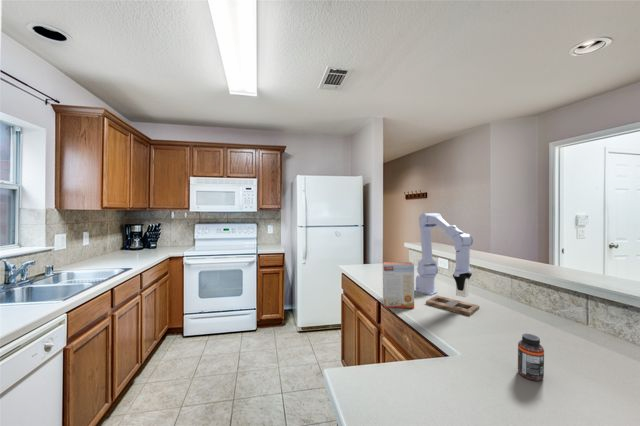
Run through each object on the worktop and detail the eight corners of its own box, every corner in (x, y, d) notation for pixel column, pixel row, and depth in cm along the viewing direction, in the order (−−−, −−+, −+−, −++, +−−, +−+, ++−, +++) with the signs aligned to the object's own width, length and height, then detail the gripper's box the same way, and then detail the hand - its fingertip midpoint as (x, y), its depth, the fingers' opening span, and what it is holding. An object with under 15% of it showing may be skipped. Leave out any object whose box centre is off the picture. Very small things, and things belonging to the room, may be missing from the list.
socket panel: (425, 304, 135) (425, 301, 135) (436, 298, 143) (436, 295, 143) (469, 316, 121) (469, 312, 120) (479, 308, 129) (479, 305, 129)
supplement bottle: (518, 366, 83) (518, 329, 83) (543, 374, 79) (544, 335, 79) (516, 376, 79) (517, 337, 78) (543, 385, 75) (544, 343, 74)
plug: (455, 295, 128) (456, 278, 128) (459, 293, 131) (459, 276, 131) (465, 297, 126) (465, 280, 125) (468, 295, 128) (468, 278, 128)
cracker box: (411, 304, 135) (411, 261, 135) (414, 308, 129) (414, 264, 129) (382, 303, 137) (382, 261, 136) (384, 307, 131) (384, 264, 130)
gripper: (465, 263, 120) (465, 294, 120) (477, 259, 130) (477, 287, 130) (449, 261, 125) (448, 291, 126) (461, 256, 135) (461, 284, 135)
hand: (462, 289), depth 128 cm, fingers closed on plug, 4 cm apart
